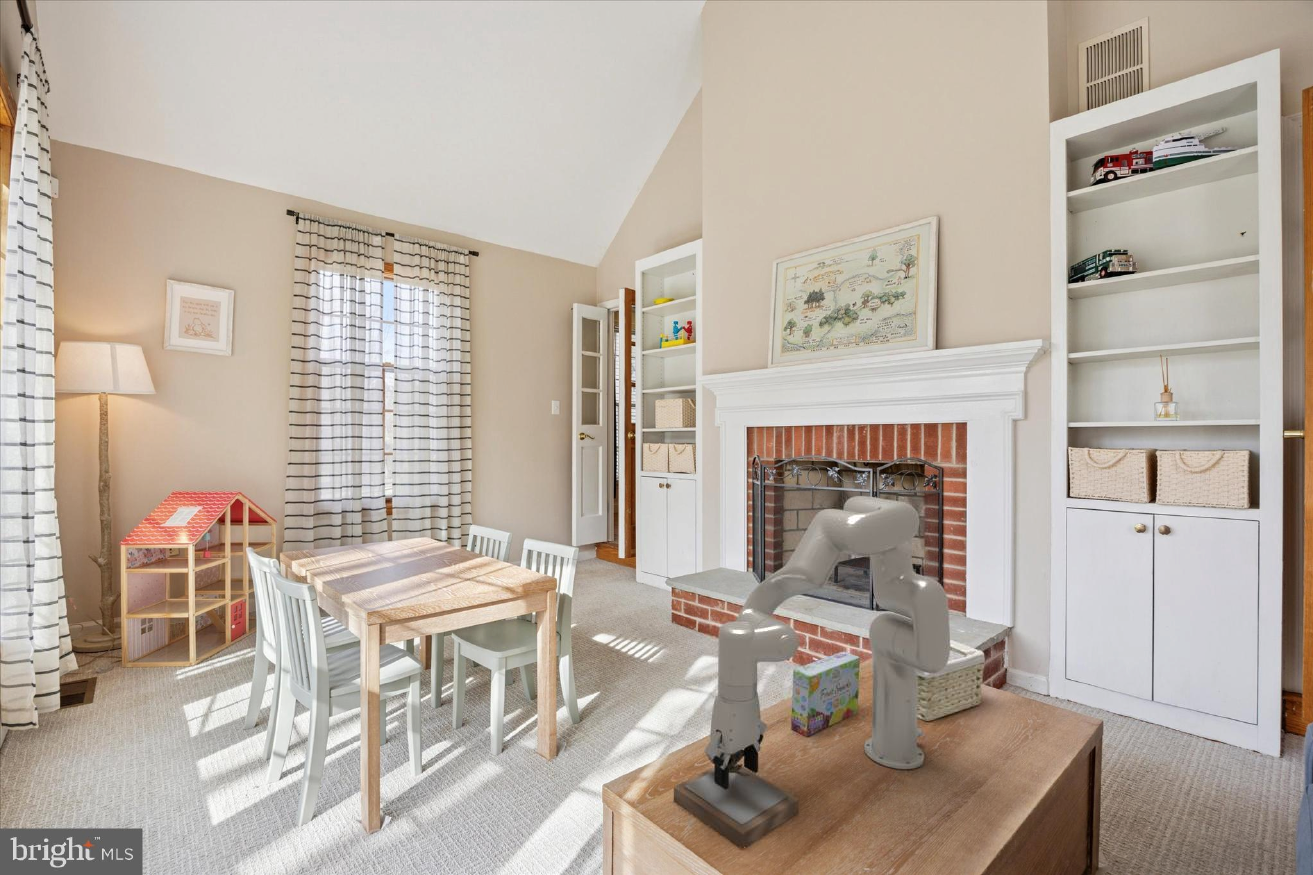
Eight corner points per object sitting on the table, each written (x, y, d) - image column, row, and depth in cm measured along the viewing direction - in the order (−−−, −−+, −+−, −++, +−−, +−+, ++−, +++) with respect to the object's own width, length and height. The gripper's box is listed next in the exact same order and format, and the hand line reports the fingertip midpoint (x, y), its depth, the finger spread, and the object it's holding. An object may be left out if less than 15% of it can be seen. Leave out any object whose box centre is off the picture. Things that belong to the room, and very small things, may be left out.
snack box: (809, 738, 146) (810, 675, 146) (790, 729, 150) (791, 668, 150) (859, 713, 159) (860, 655, 159) (840, 705, 164) (842, 649, 164)
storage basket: (925, 726, 153) (926, 667, 153) (875, 699, 168) (876, 646, 167) (987, 706, 164) (988, 652, 164) (934, 683, 179) (935, 633, 178)
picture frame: (729, 771, 132) (729, 757, 132) (798, 812, 118) (798, 797, 118) (673, 800, 121) (673, 785, 121) (742, 849, 108) (742, 832, 108)
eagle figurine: (742, 795, 117) (738, 772, 126) (755, 760, 118) (750, 739, 126) (704, 779, 118) (703, 757, 127) (718, 744, 118) (716, 724, 127)
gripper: (752, 670, 128) (751, 754, 128) (691, 694, 116) (690, 785, 117) (781, 682, 122) (780, 769, 122) (720, 708, 111) (719, 804, 111)
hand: (736, 777), depth 120 cm, fingers closed on eagle figurine, 7 cm apart
